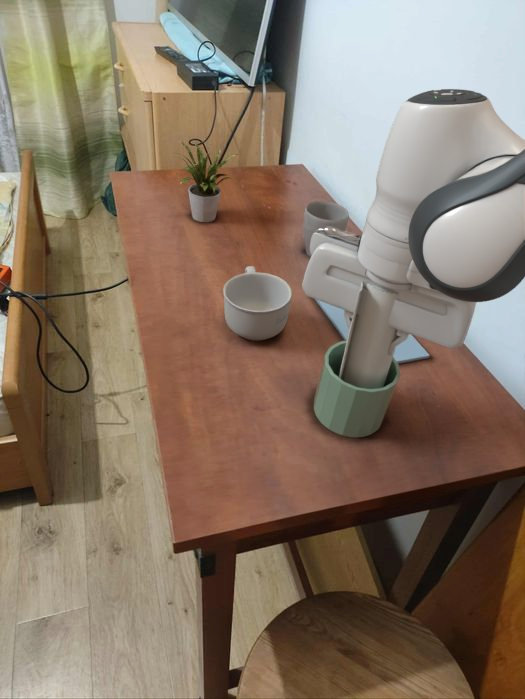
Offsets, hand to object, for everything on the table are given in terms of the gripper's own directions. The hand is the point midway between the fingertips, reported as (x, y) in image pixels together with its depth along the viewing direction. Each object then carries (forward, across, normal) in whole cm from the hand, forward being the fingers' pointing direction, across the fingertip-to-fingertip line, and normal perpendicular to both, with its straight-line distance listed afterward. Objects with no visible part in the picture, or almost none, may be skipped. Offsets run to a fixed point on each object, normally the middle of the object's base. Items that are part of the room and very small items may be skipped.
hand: (370, 344), depth 65 cm
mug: (+12, -20, +38) cm, 45 cm away
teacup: (+13, -21, +10) cm, 27 cm away
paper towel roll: (+12, 0, 0) cm, 12 cm away
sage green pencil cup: (+13, 0, 0) cm, 13 cm away
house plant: (+12, -50, +37) cm, 64 cm away
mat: (+12, -4, +21) cm, 25 cm away
